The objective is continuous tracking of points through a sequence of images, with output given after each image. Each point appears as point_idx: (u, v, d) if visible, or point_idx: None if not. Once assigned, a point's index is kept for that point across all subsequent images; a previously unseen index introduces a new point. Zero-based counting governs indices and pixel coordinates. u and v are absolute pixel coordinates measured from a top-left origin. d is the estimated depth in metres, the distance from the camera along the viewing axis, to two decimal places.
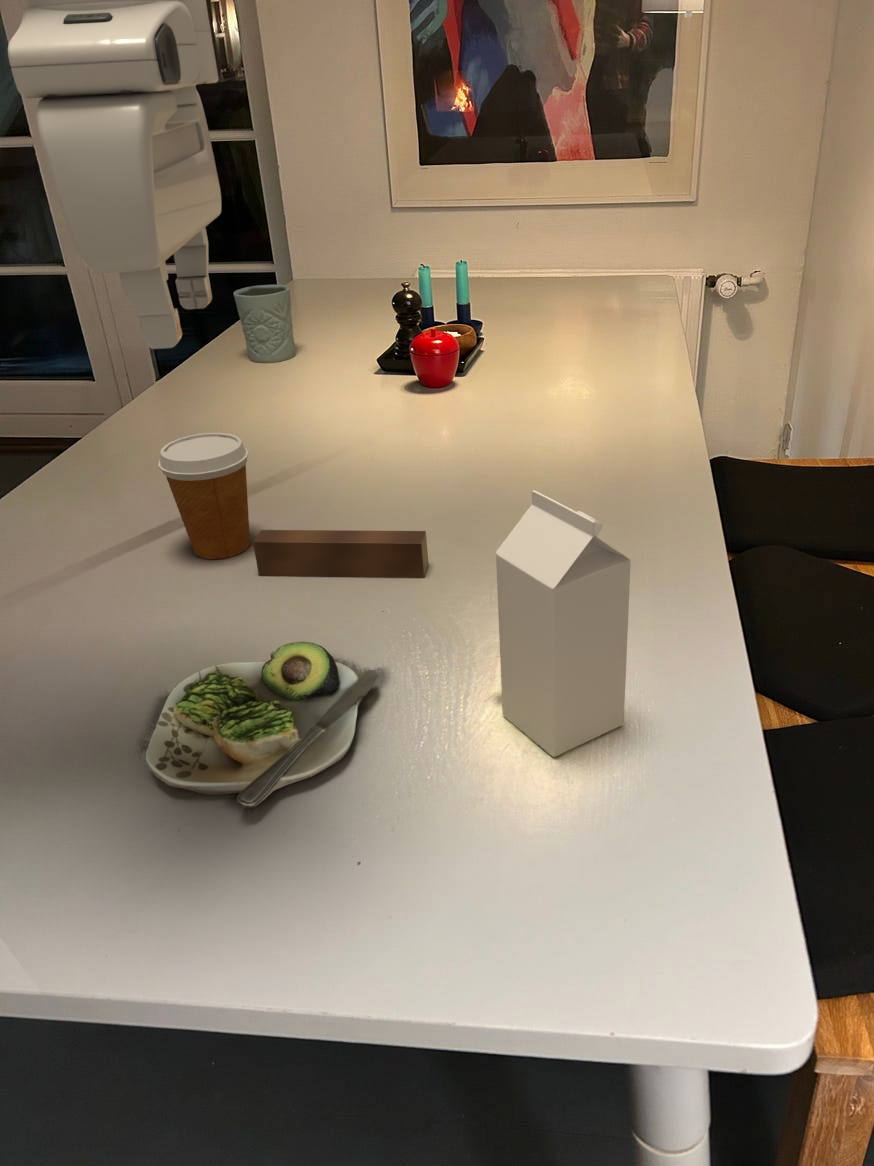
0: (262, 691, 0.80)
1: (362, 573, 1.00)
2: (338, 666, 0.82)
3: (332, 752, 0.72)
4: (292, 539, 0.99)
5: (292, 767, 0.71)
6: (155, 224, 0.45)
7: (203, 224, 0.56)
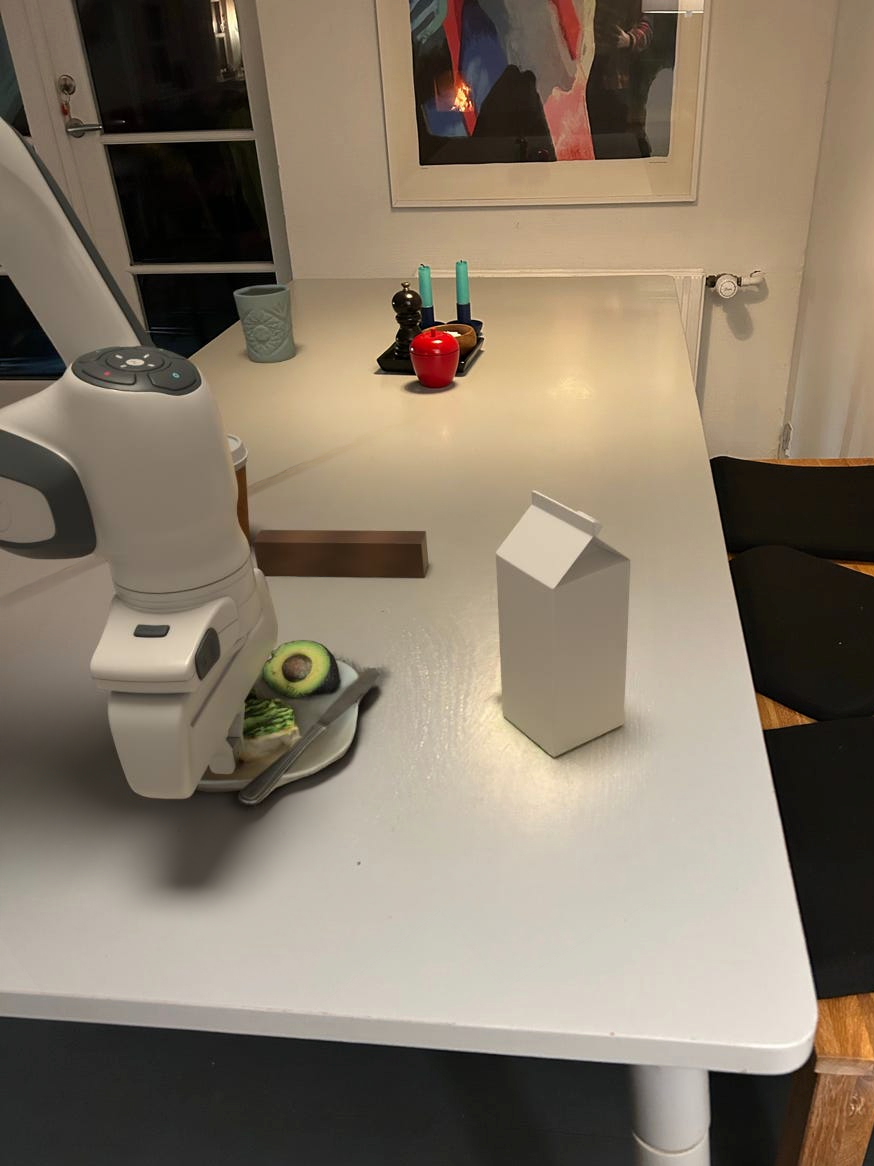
0: (263, 689, 0.80)
1: (362, 573, 1.00)
2: (338, 664, 0.82)
3: (333, 750, 0.73)
4: (292, 539, 0.99)
5: (293, 764, 0.71)
6: (188, 775, 0.59)
7: (251, 687, 0.70)
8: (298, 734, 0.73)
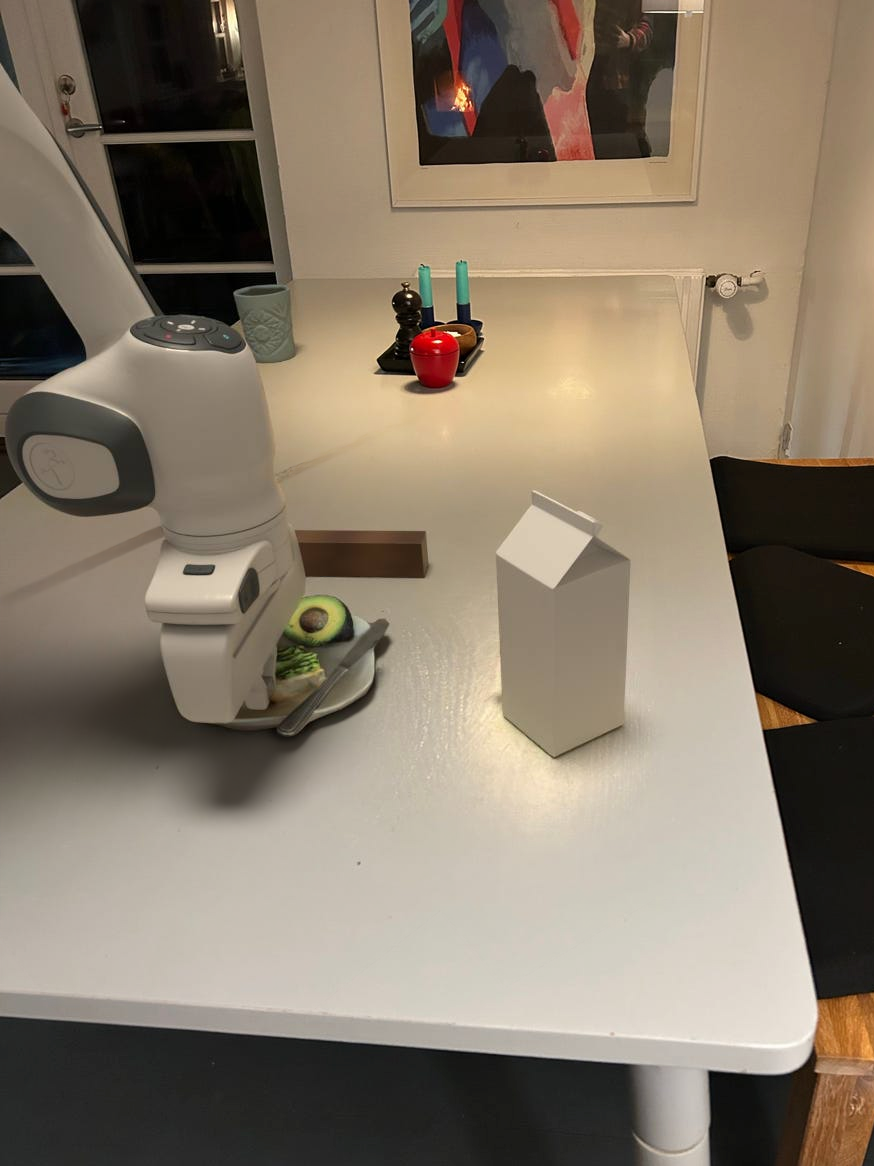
0: (282, 641, 0.87)
1: (362, 573, 1.00)
2: None
3: (357, 688, 0.80)
4: None
5: (322, 701, 0.78)
6: (231, 701, 0.65)
7: (283, 630, 0.76)
8: (324, 675, 0.80)
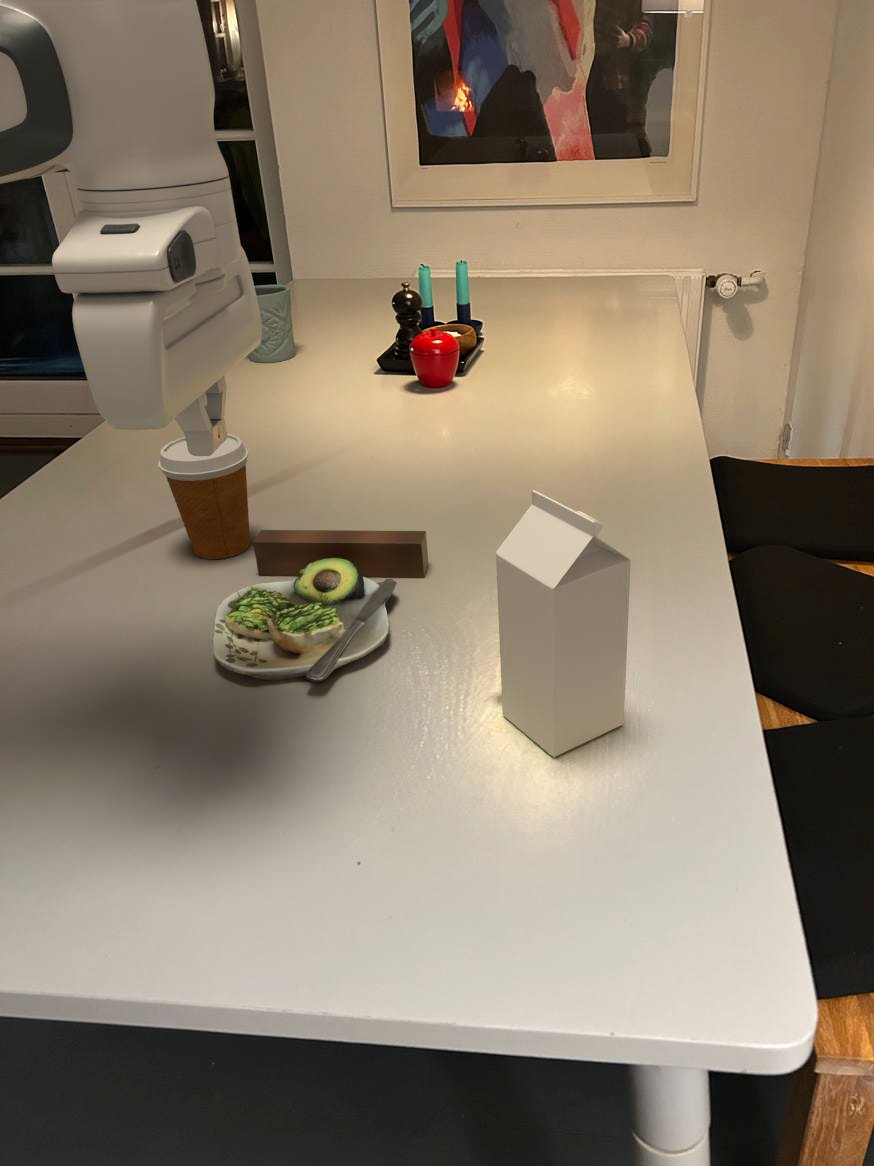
0: (298, 601, 0.93)
1: (362, 573, 1.00)
2: None
3: (375, 638, 0.86)
4: (292, 539, 0.99)
5: (345, 650, 0.84)
6: (162, 395, 0.54)
7: (232, 364, 0.65)
8: (343, 628, 0.87)
